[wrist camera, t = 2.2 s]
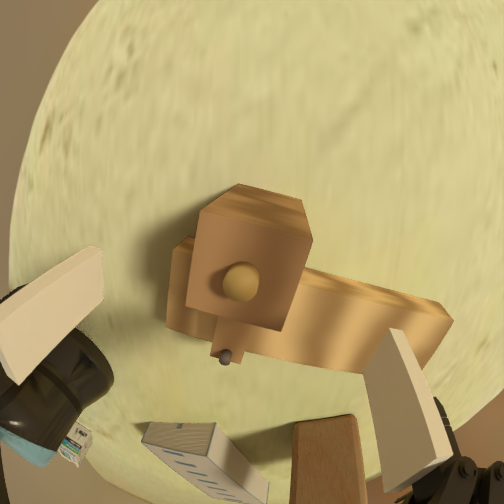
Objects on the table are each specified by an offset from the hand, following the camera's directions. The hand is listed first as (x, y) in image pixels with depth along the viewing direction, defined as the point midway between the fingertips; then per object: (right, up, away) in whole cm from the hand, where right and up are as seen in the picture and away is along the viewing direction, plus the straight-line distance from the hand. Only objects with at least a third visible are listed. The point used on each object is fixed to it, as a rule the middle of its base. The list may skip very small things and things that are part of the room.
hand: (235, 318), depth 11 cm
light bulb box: (-47, -48, +42) cm, 79 cm away
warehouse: (-7, -41, +34) cm, 54 cm away
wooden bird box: (+1, +2, +17) cm, 17 cm away
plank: (+8, -4, +18) cm, 20 cm away
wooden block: (+13, -27, +26) cm, 40 cm away
